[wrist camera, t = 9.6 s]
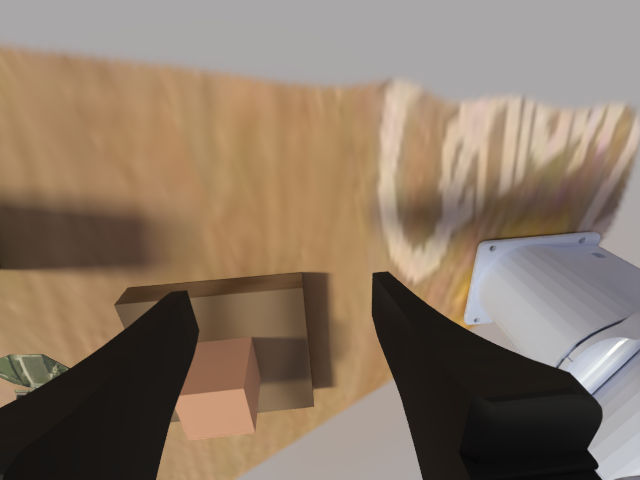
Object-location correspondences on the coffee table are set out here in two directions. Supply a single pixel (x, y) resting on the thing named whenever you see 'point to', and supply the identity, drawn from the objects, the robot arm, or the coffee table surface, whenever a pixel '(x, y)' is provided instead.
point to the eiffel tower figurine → (29, 370)
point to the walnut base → (247, 328)
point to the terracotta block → (220, 390)
